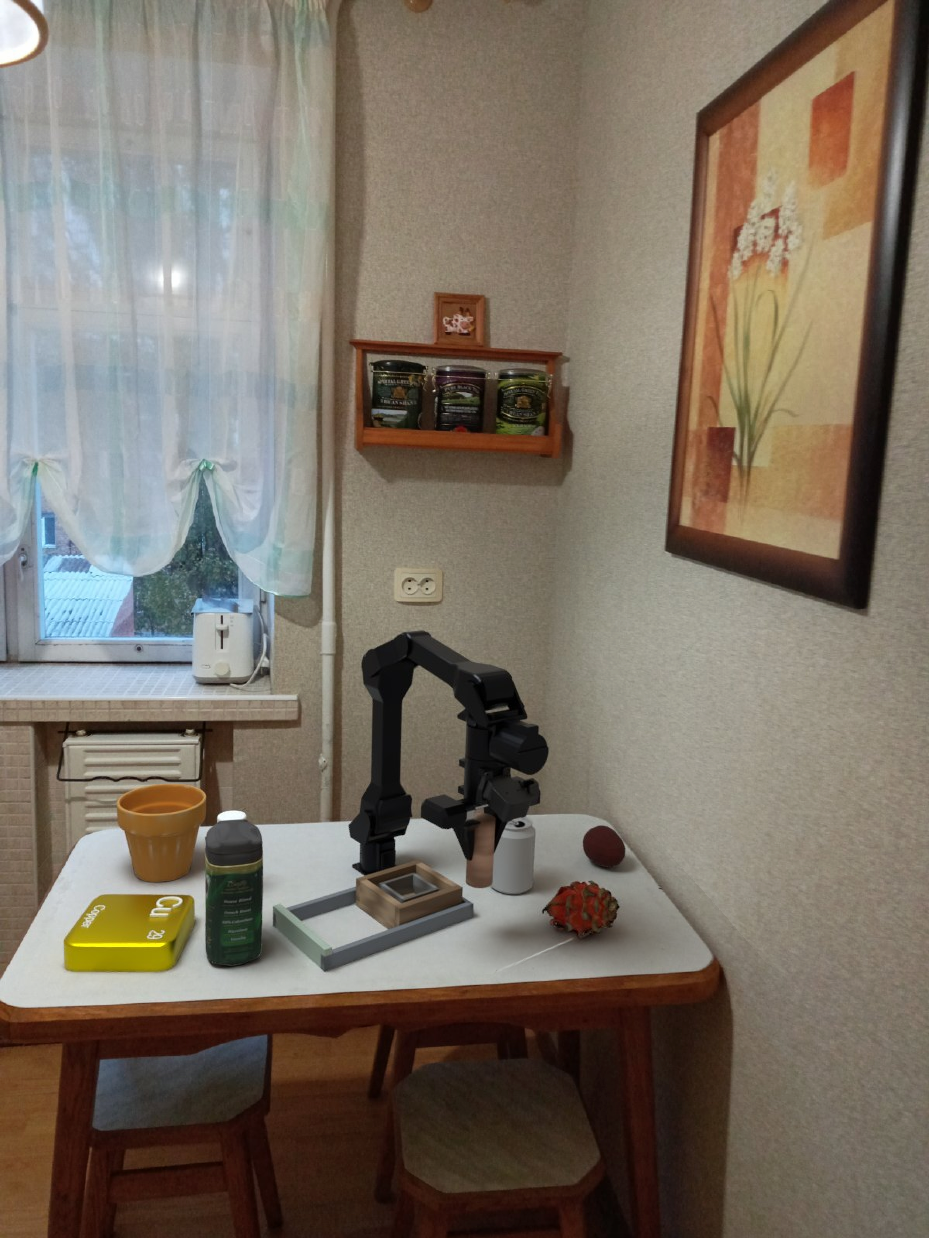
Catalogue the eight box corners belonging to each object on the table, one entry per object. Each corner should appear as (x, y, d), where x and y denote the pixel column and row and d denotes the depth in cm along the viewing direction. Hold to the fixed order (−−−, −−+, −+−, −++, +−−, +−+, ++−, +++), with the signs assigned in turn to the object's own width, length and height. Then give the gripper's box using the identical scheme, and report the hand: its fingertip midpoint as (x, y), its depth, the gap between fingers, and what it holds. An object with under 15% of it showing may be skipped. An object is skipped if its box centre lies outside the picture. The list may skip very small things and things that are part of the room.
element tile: (97, 919, 135) (96, 889, 135) (197, 919, 136) (197, 890, 136) (59, 974, 121) (58, 941, 120) (172, 974, 122) (171, 942, 121)
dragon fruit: (624, 944, 137) (546, 953, 136) (612, 892, 142) (538, 901, 142) (627, 919, 130) (546, 928, 130) (615, 866, 136) (537, 875, 136)
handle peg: (460, 880, 133) (462, 816, 131) (480, 873, 135) (483, 811, 134) (477, 890, 130) (480, 825, 128) (498, 883, 132) (501, 819, 131)
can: (529, 900, 146) (533, 831, 144) (484, 894, 147) (487, 825, 145) (535, 880, 153) (538, 814, 151) (492, 874, 155) (495, 809, 153)
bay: (272, 927, 134) (272, 905, 134) (415, 881, 151) (416, 862, 150) (324, 973, 123) (324, 949, 122) (472, 918, 139) (473, 897, 139)
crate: (355, 904, 141) (356, 878, 141) (416, 885, 149) (417, 859, 148) (398, 936, 132) (399, 908, 132) (461, 914, 140) (462, 887, 139)
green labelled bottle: (265, 964, 124) (266, 838, 121) (207, 971, 122) (205, 844, 119) (259, 929, 133) (259, 812, 130) (204, 936, 131) (203, 816, 128)
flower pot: (221, 858, 157) (220, 787, 155) (182, 895, 143) (181, 818, 141) (146, 849, 159) (145, 779, 157) (101, 884, 145) (99, 809, 143)
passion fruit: (603, 878, 155) (605, 840, 154) (573, 859, 162) (575, 823, 161) (635, 870, 159) (638, 833, 158) (604, 852, 166) (607, 816, 165)
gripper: (470, 783, 117) (465, 894, 120) (569, 759, 129) (563, 860, 132) (420, 760, 126) (416, 864, 128) (517, 739, 137) (512, 835, 140)
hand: (480, 856), depth 132 cm, fingers closed on handle peg, 4 cm apart
